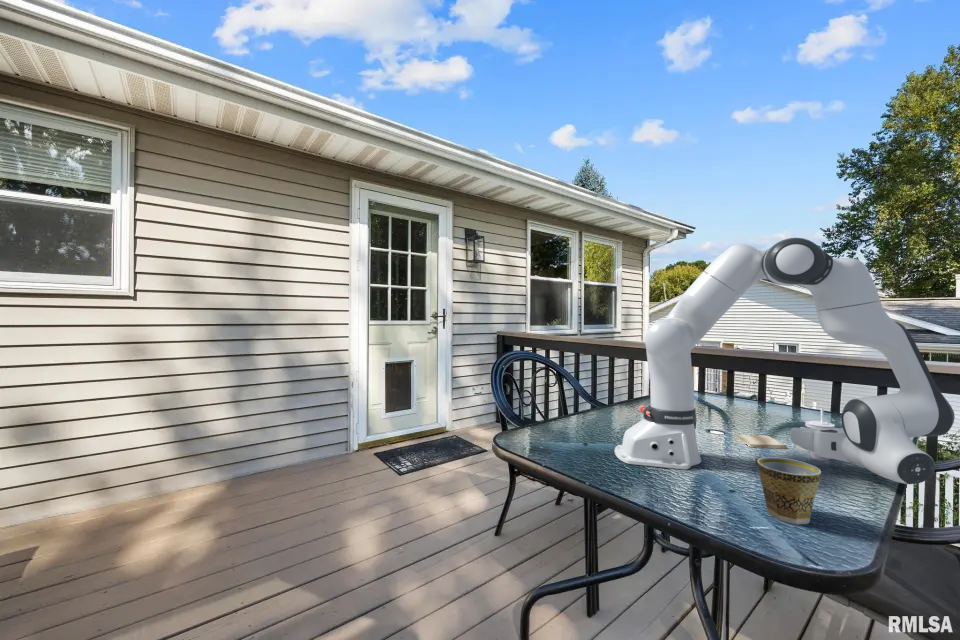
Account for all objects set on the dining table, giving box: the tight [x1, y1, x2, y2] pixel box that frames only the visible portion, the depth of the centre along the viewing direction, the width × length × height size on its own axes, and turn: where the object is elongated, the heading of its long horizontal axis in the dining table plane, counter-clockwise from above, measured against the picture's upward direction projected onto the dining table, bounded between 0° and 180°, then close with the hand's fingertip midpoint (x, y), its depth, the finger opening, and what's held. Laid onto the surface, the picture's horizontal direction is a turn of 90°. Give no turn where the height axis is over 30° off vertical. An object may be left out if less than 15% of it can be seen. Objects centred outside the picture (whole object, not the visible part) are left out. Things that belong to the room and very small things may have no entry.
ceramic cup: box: [755, 456, 822, 525], centre depth 80 cm, size 13×10×10 cm
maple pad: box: [733, 434, 788, 450], centre depth 125 cm, size 10×10×1 cm
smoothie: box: [804, 407, 836, 462], centre depth 110 cm, size 6×6×14 cm
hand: (817, 430), depth 111 cm, fingers closed on smoothie, 6 cm apart
